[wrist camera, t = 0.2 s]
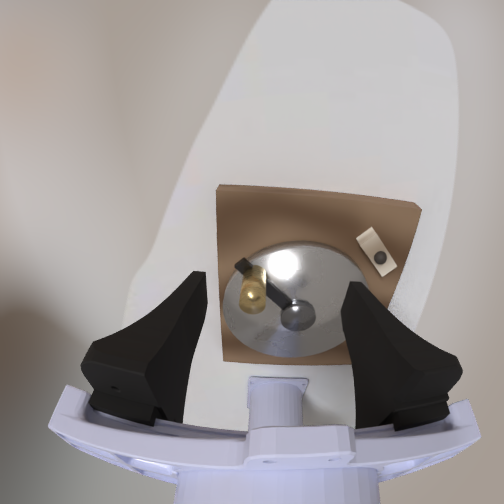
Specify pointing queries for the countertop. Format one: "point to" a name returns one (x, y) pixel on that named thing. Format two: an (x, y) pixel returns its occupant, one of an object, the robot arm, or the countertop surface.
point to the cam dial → (290, 298)
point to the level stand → (311, 229)
